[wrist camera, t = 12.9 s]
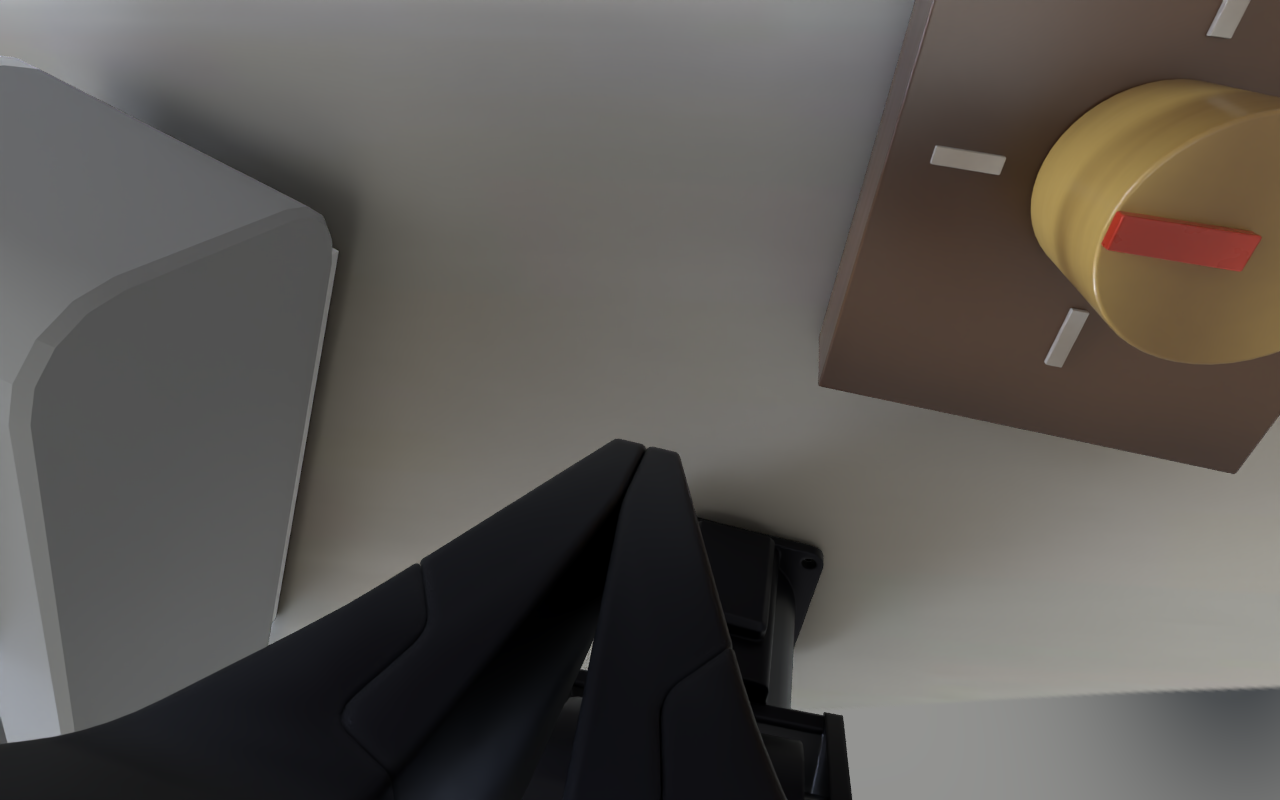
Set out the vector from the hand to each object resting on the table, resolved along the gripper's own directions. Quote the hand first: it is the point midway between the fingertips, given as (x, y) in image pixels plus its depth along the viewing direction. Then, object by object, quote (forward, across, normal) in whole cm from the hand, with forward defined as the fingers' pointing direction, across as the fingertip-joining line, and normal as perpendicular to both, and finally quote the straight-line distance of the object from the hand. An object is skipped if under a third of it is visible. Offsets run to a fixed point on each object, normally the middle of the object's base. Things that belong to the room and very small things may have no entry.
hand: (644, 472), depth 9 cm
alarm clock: (+12, +20, +13) cm, 27 cm away
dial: (+9, -8, -3) cm, 12 cm away
